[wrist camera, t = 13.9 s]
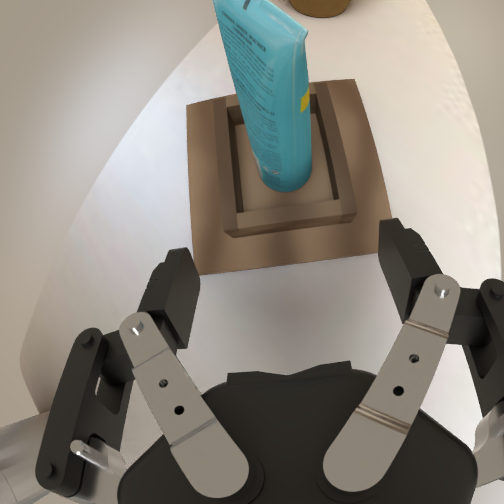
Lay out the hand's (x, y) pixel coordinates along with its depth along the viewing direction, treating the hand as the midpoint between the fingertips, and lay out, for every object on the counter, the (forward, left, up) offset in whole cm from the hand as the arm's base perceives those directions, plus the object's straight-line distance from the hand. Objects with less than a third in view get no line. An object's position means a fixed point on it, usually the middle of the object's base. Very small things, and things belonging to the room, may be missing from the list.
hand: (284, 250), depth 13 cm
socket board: (0, +10, -15) cm, 18 cm away
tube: (0, +10, -14) cm, 17 cm away
